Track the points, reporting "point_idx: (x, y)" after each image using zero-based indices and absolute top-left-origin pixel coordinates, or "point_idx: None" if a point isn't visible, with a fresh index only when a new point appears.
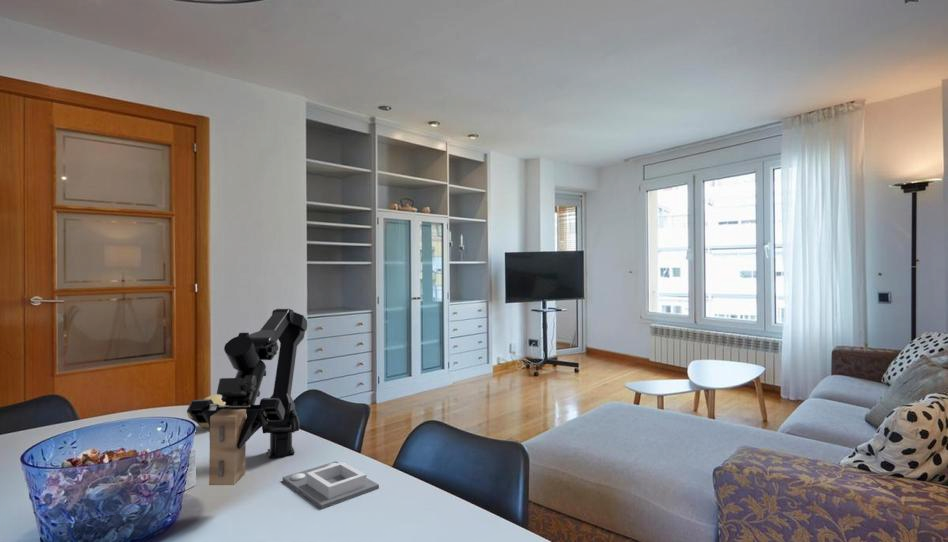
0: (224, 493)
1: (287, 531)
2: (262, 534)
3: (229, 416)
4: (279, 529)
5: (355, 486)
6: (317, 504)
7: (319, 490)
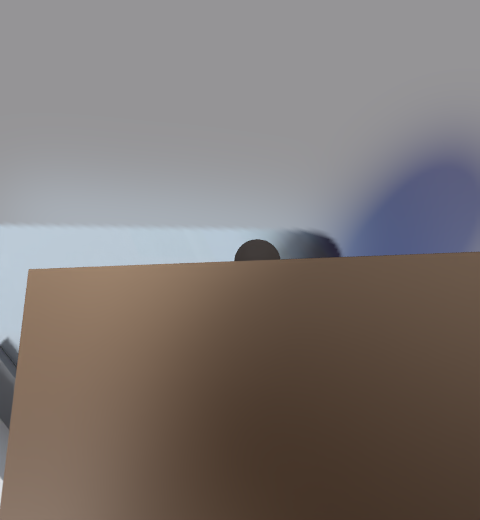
0: None
1: (61, 238)
2: (113, 227)
3: (140, 273)
4: (82, 247)
5: None
6: (11, 365)
7: (6, 435)
